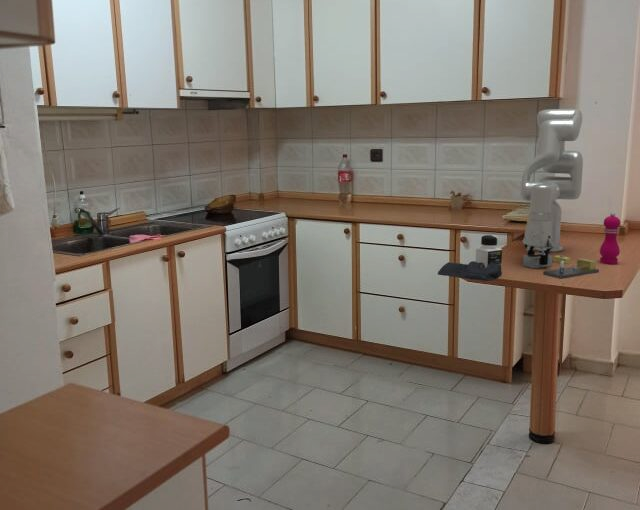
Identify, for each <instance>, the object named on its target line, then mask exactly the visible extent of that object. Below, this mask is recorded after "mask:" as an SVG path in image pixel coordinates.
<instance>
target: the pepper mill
mask: <svg viewBox="0 0 640 510" xmlns="http://www.w3.org/2000/svg"><path fill="white" fill-rule="evenodd" d="M609 215H610V216H607V217H605V218H604V220H603V226H604V227H605V228H604V231H603V232H604V233H605V236H604V239H603V240H604V241H603V242H602V243H601V246H600V247H599V254H600V256H601V257H600V259H599V263H601V264H607V265H616V264H618V263H619V262H618V260H619V259H618V256H619V255H620V252H621V249H620V247H619V244H618V240H617V236H618V233H619V227H620V226H621V220H620V218H619V217H618V216H616V213H615V212H614V211H611V212H610V214H609Z"/></svg>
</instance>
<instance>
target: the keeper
mask: <svg viewBox="0 0 640 510" xmlns="http://www.w3.org/2000/svg"><path fill="white" fill-rule="evenodd" d="M599 272H600V269H599V268H598V269H597V260H592V259H588V258H584V257H583V258H577V261H576V266H568V267H565V264H564V261H560V264H559V268H557V269H550V270H544V271H543V273H542V274H543V275H545V276H548V277H552V278H556V279H567V278H571V277H572V278H573V277H579V276H583V275H589V274H591V275H592V274H596V273H599Z"/></svg>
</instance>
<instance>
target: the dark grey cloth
mask: <svg viewBox="0 0 640 510" xmlns="http://www.w3.org/2000/svg"><path fill="white" fill-rule="evenodd" d="M475 261H476V260H473V261H472V260H471V261H470V262H468V264H466V263H461V262H460V263H459V262H451V261H450V262H446V263H445V264H444V265H442V267H441V268H440V269H439V270H438V271H437V275H438V276H444V277H445V276H446V277H453V278H458V279H459V278H460V279H467V280H476V281H483V282H489V281H494V280H495V279H499V278H500V277H502V275H503V272H502V264H501V265H500V264H498V265H497V264H488V265H487V267H486V268H485V265H484V263H482V262H480V263H477V262H475ZM498 277H499V278H498Z"/></svg>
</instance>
